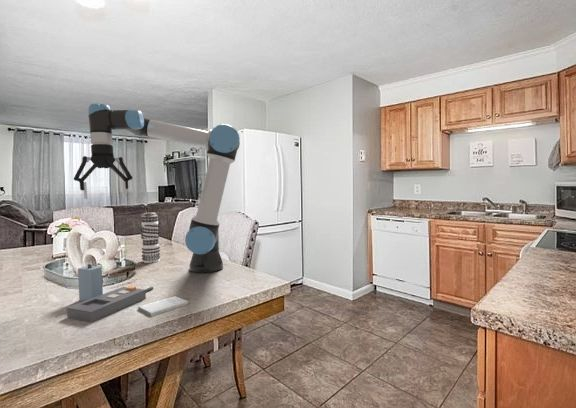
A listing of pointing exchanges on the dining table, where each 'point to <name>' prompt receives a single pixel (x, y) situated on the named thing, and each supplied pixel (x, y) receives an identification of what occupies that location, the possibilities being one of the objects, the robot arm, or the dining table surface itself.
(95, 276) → the block
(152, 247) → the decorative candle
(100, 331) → the dining table surface
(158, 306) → the external hard drive
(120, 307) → the power strip
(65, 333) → the dining table surface
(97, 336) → the dining table surface
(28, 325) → the dining table surface
